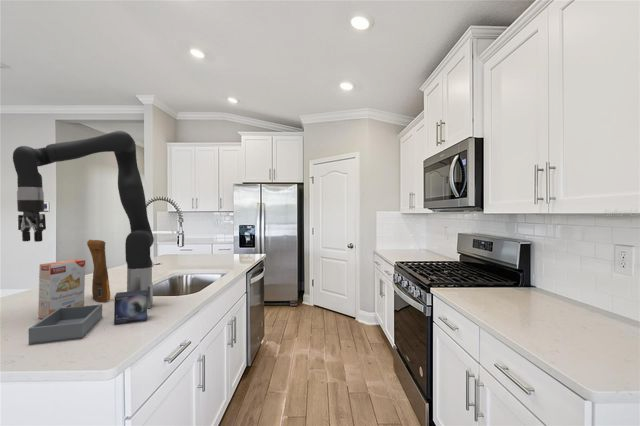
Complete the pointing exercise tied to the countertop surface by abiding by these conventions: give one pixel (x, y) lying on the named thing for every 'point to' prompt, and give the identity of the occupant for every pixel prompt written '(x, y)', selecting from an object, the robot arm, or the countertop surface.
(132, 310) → the small box
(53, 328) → the tray
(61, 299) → the cracker box
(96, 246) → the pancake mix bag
